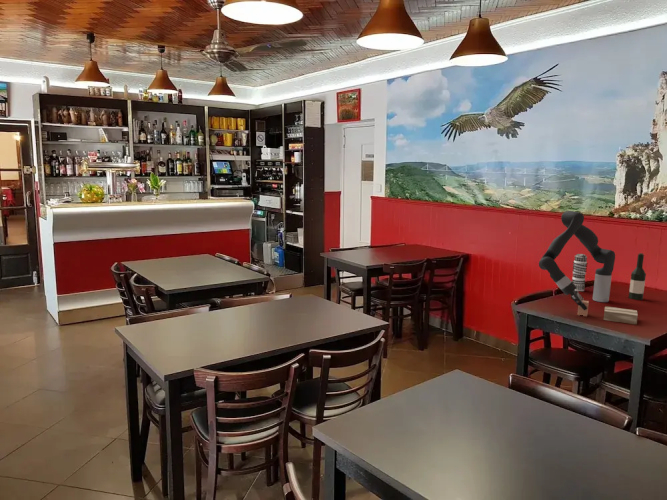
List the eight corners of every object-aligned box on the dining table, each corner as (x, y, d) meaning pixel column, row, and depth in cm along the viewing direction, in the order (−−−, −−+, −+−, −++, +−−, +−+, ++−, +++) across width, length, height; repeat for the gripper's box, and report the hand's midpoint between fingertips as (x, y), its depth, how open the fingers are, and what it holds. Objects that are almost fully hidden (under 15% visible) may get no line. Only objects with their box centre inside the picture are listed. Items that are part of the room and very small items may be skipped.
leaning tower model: (582, 292, 352) (586, 256, 348) (568, 289, 359) (571, 254, 355) (586, 289, 359) (590, 254, 355) (573, 287, 365) (576, 252, 361)
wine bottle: (637, 300, 332) (643, 254, 327) (625, 297, 340) (630, 252, 335) (645, 299, 336) (651, 254, 331) (633, 296, 343) (638, 252, 339)
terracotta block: (577, 313, 300) (579, 299, 299) (587, 314, 298) (588, 301, 296) (577, 315, 296) (578, 301, 294) (586, 316, 293) (588, 302, 292)
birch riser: (604, 314, 298) (605, 306, 297) (636, 319, 290) (637, 310, 290) (603, 319, 288) (604, 311, 287) (636, 324, 280) (637, 315, 279)
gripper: (570, 283, 291) (591, 307, 287) (572, 279, 303) (592, 301, 300) (559, 291, 294) (580, 314, 291) (561, 286, 307) (581, 308, 303)
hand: (586, 307), depth 295 cm, fingers open, 6 cm apart
